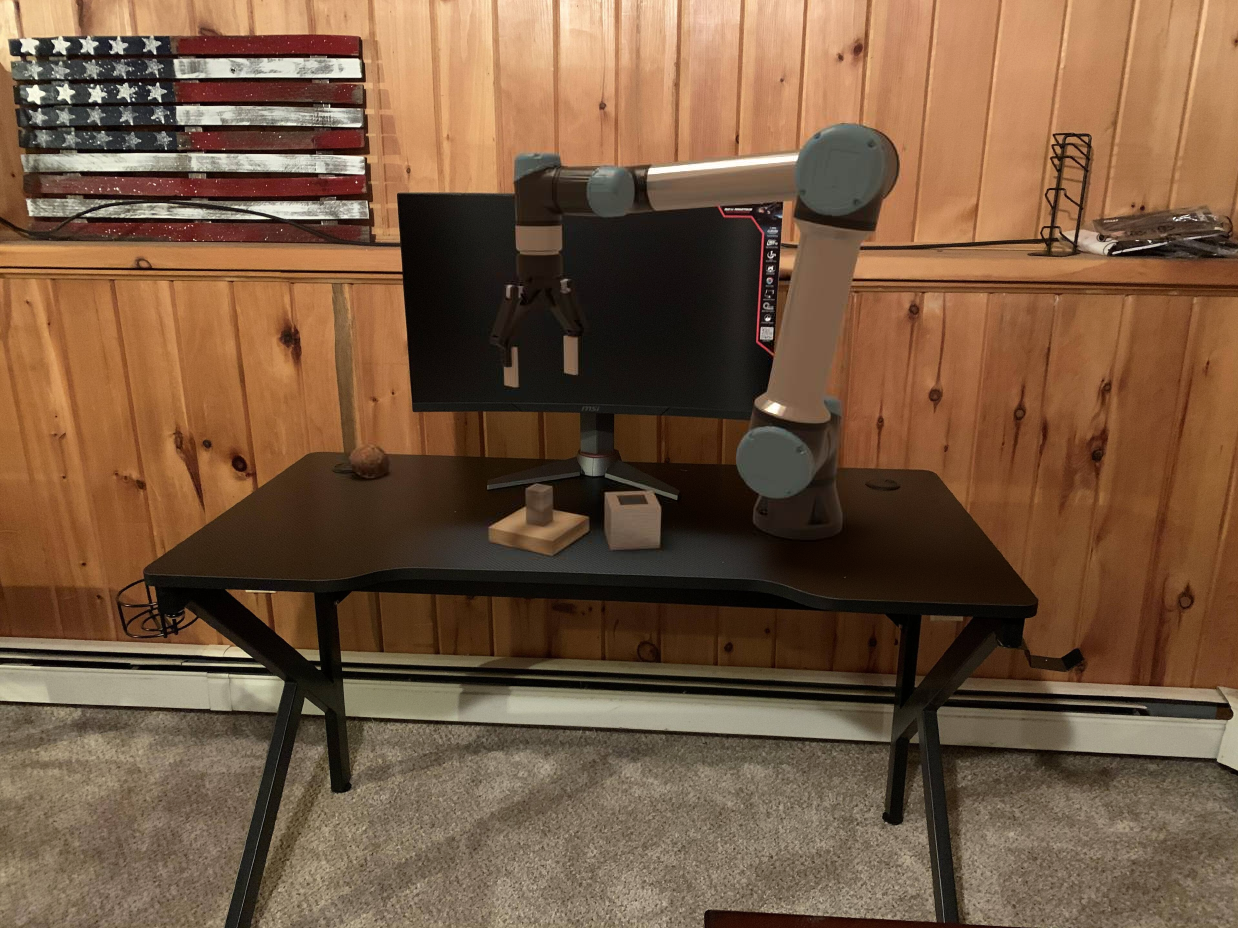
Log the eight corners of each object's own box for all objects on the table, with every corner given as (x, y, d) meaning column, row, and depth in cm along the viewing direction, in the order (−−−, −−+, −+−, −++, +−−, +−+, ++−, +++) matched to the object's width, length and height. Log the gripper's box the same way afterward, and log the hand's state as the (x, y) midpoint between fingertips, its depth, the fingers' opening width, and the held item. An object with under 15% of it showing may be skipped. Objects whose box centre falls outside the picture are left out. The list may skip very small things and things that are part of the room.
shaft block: (589, 530, 155) (589, 483, 152) (552, 555, 145) (551, 505, 142) (528, 518, 160) (527, 471, 158) (488, 541, 150) (487, 492, 147)
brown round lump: (343, 454, 184) (354, 433, 180) (381, 464, 188) (393, 443, 184) (342, 483, 178) (353, 462, 175) (381, 493, 182) (394, 472, 179)
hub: (651, 529, 156) (652, 490, 154) (659, 548, 148) (661, 507, 146) (604, 531, 155) (604, 492, 153) (610, 550, 147) (611, 509, 145)
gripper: (578, 247, 162) (579, 366, 168) (463, 255, 145) (470, 387, 151) (608, 249, 157) (608, 371, 163) (494, 258, 140) (499, 395, 146)
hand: (542, 379), depth 157 cm, fingers open, 13 cm apart
